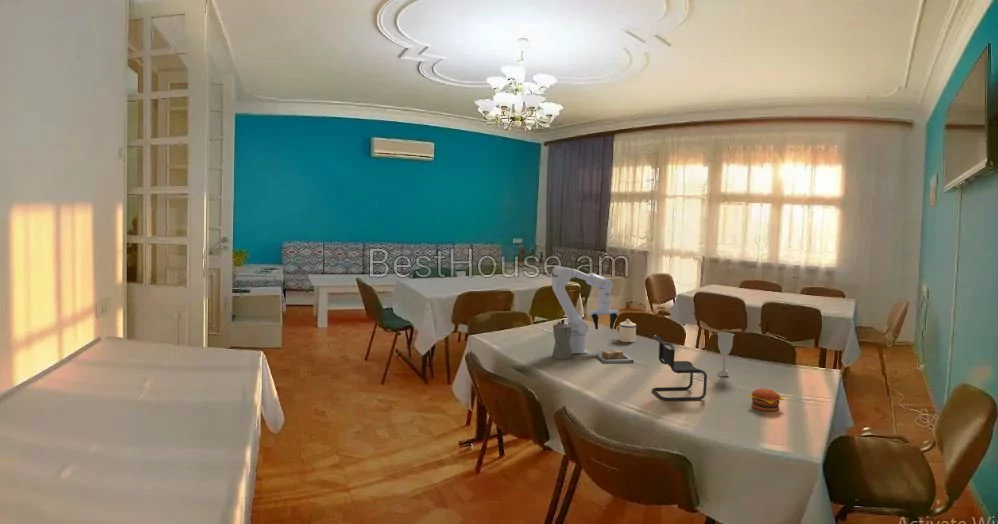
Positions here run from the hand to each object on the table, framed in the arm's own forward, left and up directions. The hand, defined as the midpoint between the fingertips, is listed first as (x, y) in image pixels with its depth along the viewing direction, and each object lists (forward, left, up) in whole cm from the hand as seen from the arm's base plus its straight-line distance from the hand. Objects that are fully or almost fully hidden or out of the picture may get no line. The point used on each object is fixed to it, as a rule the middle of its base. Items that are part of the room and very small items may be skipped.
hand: (603, 328), depth 286 cm
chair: (+8, -70, -11) cm, 71 cm away
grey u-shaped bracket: (0, -18, -10) cm, 21 cm away
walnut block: (-1, -19, -11) cm, 22 cm away
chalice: (+39, -47, -11) cm, 62 cm away
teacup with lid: (+18, +18, -11) cm, 27 cm away
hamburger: (+34, -86, -11) cm, 93 cm away
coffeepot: (-24, -12, -11) cm, 29 cm away
